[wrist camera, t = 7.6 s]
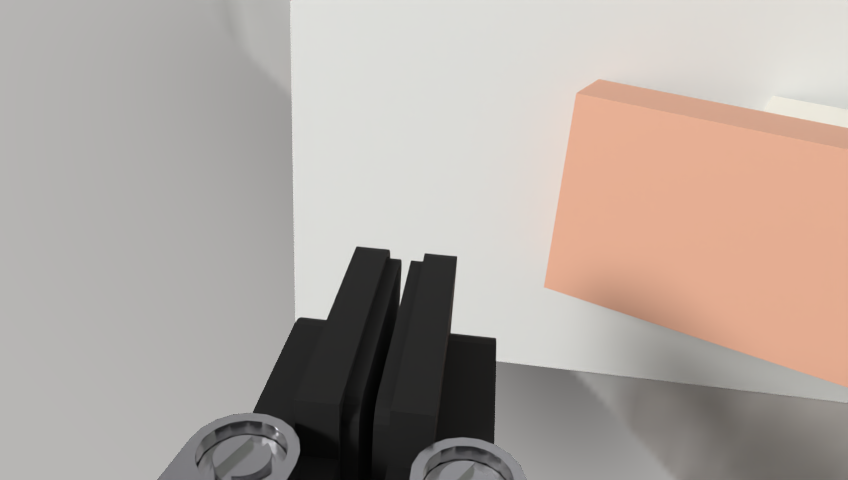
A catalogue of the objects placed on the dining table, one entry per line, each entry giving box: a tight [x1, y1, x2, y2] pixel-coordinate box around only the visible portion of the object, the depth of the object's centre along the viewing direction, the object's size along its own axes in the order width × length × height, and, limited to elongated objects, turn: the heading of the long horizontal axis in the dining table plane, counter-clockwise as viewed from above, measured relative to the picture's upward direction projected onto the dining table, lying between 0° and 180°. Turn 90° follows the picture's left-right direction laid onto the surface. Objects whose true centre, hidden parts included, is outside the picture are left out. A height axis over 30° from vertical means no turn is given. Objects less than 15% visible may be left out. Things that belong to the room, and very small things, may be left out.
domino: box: [544, 79, 848, 387], centre depth 16 cm, size 2×5×10 cm
